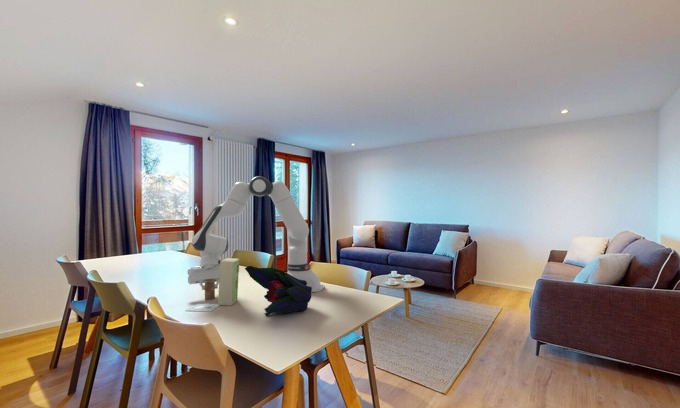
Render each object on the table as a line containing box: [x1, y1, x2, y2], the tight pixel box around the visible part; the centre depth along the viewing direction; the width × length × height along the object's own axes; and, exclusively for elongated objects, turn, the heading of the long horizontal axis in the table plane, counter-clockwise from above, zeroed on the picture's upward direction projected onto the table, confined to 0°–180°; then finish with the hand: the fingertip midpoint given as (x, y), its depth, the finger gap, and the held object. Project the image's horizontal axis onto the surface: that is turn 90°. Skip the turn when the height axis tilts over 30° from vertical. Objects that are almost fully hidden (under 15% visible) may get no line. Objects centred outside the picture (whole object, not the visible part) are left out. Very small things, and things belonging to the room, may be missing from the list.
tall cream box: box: [217, 257, 240, 306], centre depth 145 cm, size 8×7×21 cm
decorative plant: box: [244, 265, 313, 316], centre depth 134 cm, size 21×26×30 cm
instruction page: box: [185, 303, 221, 313], centre depth 138 cm, size 12×9×1 cm
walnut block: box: [204, 279, 216, 301], centre depth 152 cm, size 4×4×9 cm
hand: (209, 288), depth 152 cm, fingers closed on walnut block, 4 cm apart
